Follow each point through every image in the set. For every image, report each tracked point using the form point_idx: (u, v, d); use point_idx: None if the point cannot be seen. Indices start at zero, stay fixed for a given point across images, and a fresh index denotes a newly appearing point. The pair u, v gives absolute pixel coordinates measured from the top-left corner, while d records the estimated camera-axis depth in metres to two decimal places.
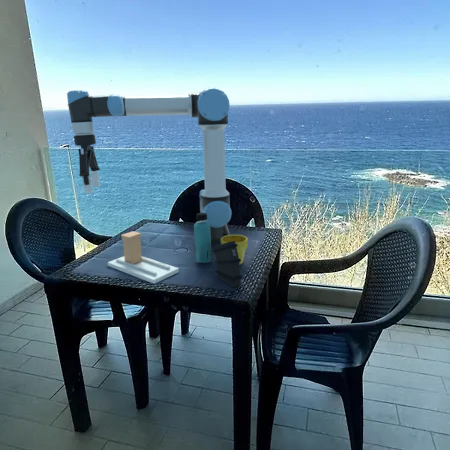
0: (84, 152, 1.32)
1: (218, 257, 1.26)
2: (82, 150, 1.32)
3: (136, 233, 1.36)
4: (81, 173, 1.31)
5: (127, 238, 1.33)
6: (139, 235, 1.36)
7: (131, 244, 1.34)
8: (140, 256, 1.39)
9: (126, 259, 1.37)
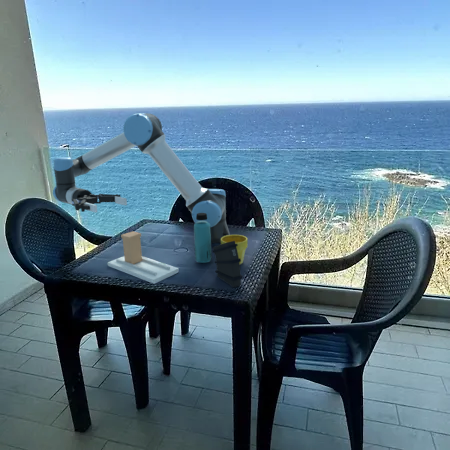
0: (72, 200, 1.42)
1: (218, 257, 1.26)
2: (72, 202, 1.43)
3: (136, 233, 1.36)
4: (76, 208, 1.36)
5: (127, 238, 1.33)
6: (139, 235, 1.36)
7: (131, 244, 1.34)
8: (140, 256, 1.39)
9: (126, 259, 1.37)
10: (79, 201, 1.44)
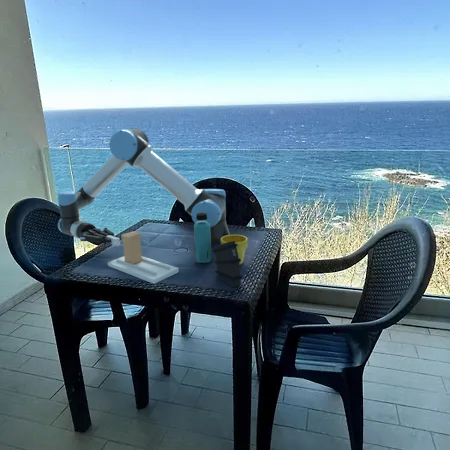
0: (83, 236, 1.46)
1: (218, 257, 1.26)
2: (81, 237, 1.46)
3: (136, 233, 1.36)
4: (99, 242, 1.44)
5: (127, 238, 1.33)
6: (139, 235, 1.36)
7: (131, 244, 1.34)
8: (140, 256, 1.39)
9: (126, 259, 1.37)
10: None
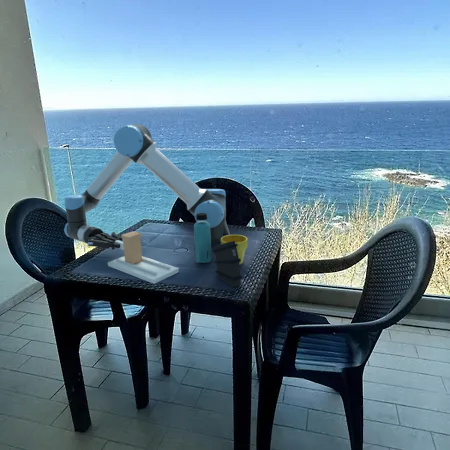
0: (90, 241, 1.42)
1: (218, 257, 1.26)
2: (89, 242, 1.42)
3: (136, 233, 1.36)
4: (107, 247, 1.40)
5: (127, 238, 1.33)
6: (139, 235, 1.36)
7: (131, 244, 1.34)
8: (140, 256, 1.38)
9: (126, 259, 1.37)
10: None
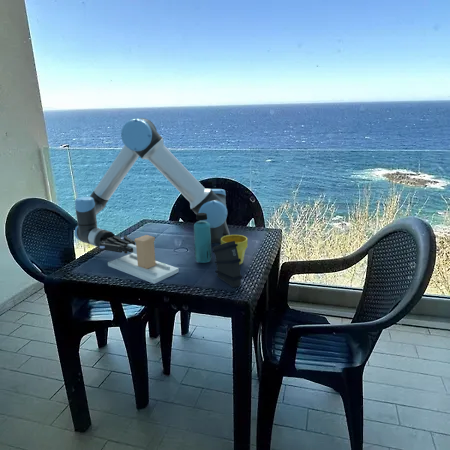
0: (102, 245, 1.38)
1: (218, 257, 1.26)
2: (100, 246, 1.38)
3: (150, 237, 1.32)
4: (119, 251, 1.36)
5: (140, 242, 1.29)
6: (153, 239, 1.32)
7: (145, 248, 1.30)
8: (154, 261, 1.34)
9: (139, 264, 1.33)
10: None
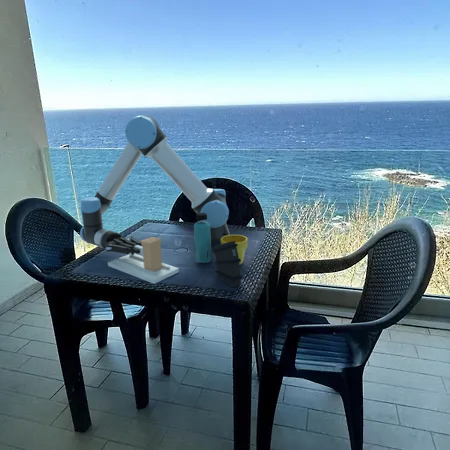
0: (109, 246, 1.36)
1: (218, 257, 1.26)
2: (107, 248, 1.36)
3: (156, 239, 1.30)
4: (126, 252, 1.34)
5: (147, 244, 1.27)
6: (159, 241, 1.30)
7: (151, 250, 1.27)
8: (160, 263, 1.32)
9: (146, 266, 1.31)
10: None
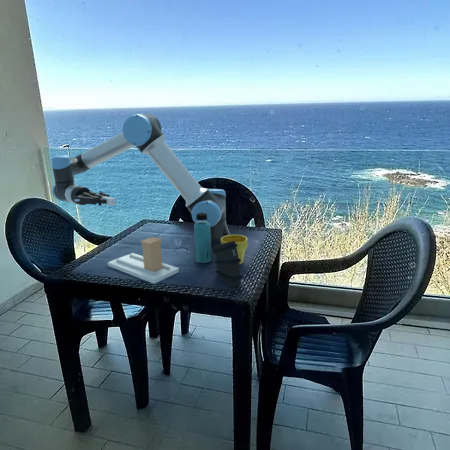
0: (77, 198, 1.41)
1: (218, 257, 1.26)
2: (75, 199, 1.42)
3: (156, 239, 1.30)
4: (94, 203, 1.39)
5: (147, 244, 1.27)
6: (159, 241, 1.30)
7: (151, 250, 1.28)
8: (160, 263, 1.32)
9: (146, 266, 1.31)
10: None
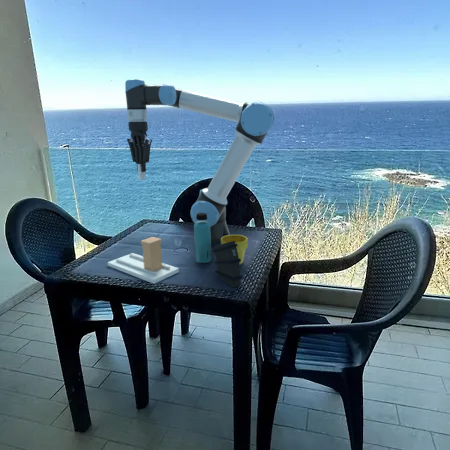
0: (150, 143, 1.45)
1: (218, 257, 1.26)
2: (149, 141, 1.44)
3: (156, 239, 1.30)
4: (145, 162, 1.48)
5: (147, 244, 1.27)
6: (159, 241, 1.30)
7: (151, 250, 1.28)
8: (160, 263, 1.32)
9: (146, 266, 1.31)
10: None
